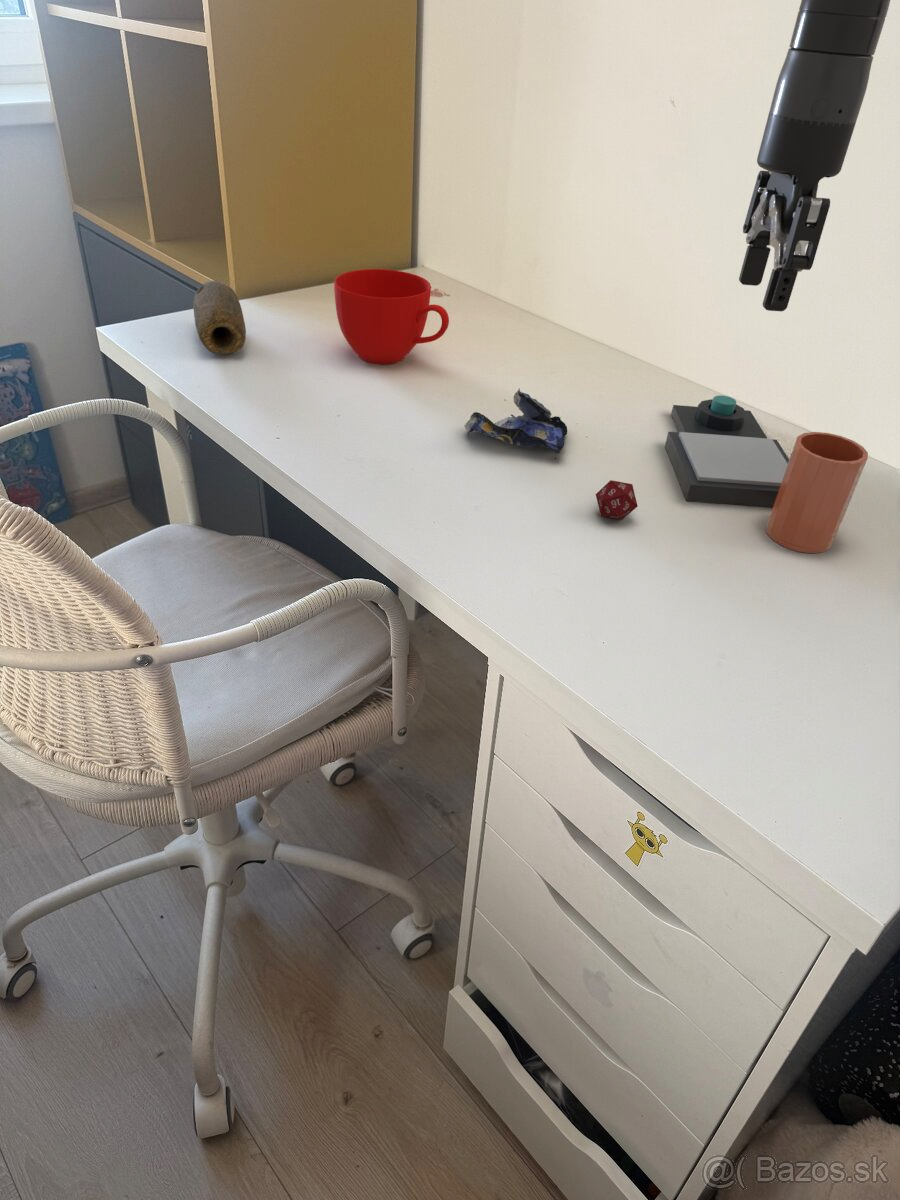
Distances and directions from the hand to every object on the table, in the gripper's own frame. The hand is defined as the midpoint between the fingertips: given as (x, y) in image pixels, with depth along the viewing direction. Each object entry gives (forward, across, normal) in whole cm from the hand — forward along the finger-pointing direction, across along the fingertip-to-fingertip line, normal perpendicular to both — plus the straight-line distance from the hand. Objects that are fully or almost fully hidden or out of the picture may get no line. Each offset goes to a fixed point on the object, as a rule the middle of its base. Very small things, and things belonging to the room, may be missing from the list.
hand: (760, 296), depth 84 cm
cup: (+20, -14, -6) cm, 25 cm away
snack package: (+20, +4, +22) cm, 30 cm away
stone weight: (+20, +30, +63) cm, 72 cm away
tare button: (+17, +10, -3) cm, 20 cm away
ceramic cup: (+20, +27, +39) cm, 51 cm away
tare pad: (+20, +10, -3) cm, 22 cm away
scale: (+20, -2, -2) cm, 20 cm away
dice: (+20, -12, +13) cm, 27 cm away
